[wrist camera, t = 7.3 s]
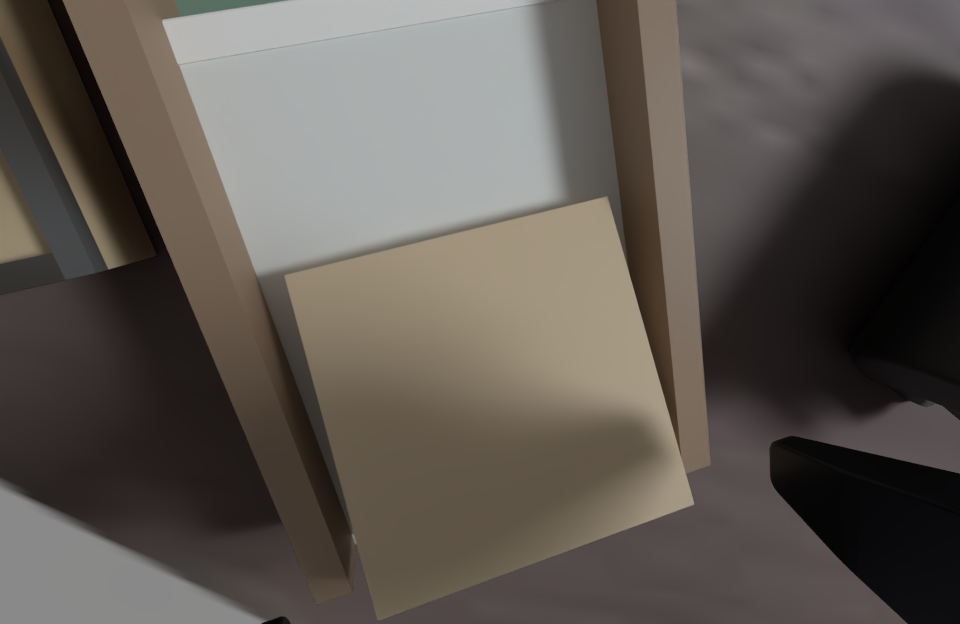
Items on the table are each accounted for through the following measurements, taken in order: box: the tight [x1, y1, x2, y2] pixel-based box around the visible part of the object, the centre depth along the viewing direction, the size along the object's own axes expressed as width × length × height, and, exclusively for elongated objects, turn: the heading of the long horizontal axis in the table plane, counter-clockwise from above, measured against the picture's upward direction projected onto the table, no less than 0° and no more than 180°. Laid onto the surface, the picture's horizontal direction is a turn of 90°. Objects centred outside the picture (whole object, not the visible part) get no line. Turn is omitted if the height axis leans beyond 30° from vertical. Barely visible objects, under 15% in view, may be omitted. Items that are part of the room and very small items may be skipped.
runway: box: [63, 0, 711, 621], centre depth 9 cm, size 19×10×5 cm, turn 12°
